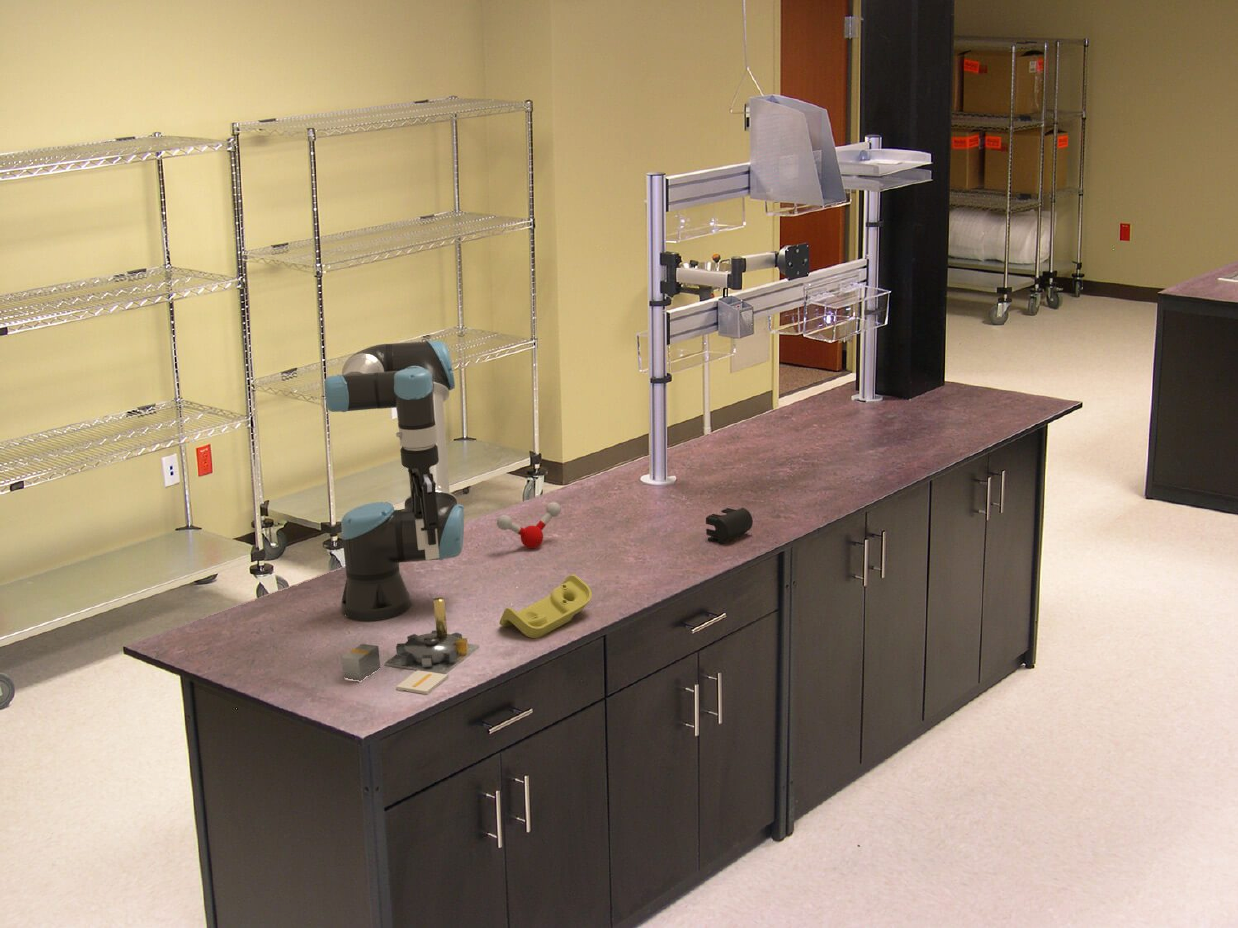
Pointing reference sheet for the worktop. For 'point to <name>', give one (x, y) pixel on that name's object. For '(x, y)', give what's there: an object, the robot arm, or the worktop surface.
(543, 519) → the molecular model
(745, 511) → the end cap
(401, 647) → the sprocket
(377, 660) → the link block
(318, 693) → the worktop surface
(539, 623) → the plastic component
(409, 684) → the marked pad
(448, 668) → the sprocket base
